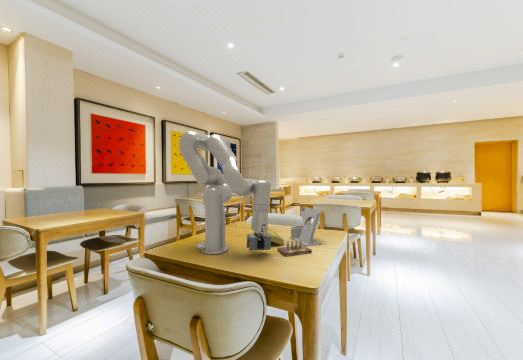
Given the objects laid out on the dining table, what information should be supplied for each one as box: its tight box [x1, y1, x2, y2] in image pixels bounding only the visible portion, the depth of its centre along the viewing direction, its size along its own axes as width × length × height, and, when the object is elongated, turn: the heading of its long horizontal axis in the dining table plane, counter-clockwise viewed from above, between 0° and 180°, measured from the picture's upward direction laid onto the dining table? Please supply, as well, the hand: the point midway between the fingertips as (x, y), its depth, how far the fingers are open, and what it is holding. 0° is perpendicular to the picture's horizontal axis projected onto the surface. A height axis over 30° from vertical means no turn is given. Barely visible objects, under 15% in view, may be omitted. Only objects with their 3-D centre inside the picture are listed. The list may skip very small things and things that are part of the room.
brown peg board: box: [276, 240, 312, 258], centre depth 112 cm, size 14×8×6 cm, turn 110°
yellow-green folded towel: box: [260, 228, 285, 246], centre depth 130 cm, size 20×7×10 cm
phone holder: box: [289, 206, 322, 247], centre depth 130 cm, size 17×10×18 cm, turn 23°
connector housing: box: [246, 233, 272, 252], centre depth 107 cm, size 10×5×6 cm, turn 110°
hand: (258, 246), depth 108 cm, fingers closed on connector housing, 5 cm apart
